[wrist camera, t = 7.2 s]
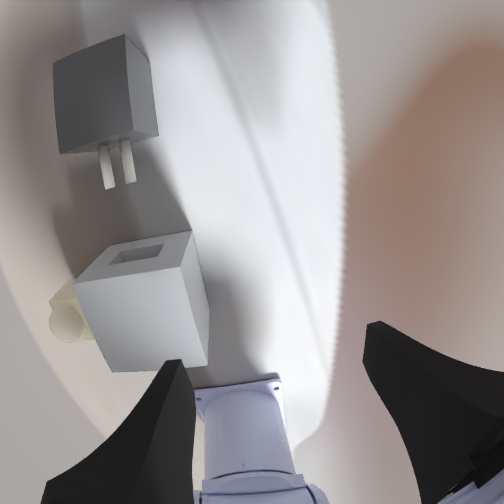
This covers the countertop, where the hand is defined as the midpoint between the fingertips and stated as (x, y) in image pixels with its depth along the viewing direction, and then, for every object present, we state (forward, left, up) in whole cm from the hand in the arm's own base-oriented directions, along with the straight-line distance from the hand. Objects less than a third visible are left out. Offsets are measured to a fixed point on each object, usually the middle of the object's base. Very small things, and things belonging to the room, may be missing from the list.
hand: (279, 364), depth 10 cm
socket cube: (0, +7, -10) cm, 12 cm away
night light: (0, +11, -8) cm, 14 cm away
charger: (+12, +7, -10) cm, 17 cm away
